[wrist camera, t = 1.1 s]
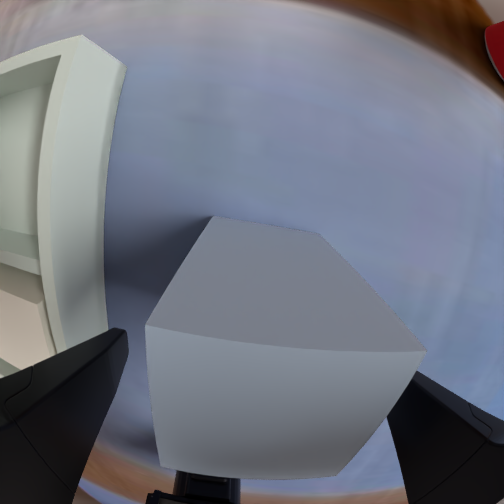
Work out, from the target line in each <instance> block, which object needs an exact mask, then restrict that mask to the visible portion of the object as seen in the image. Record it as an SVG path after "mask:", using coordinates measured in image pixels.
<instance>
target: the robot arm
mask: <svg viewBox="0 0 504 504" xmlns="http://www.w3.org/2000/svg"><path fill="white" fill-rule="evenodd" d="M128 353H129V349H128V338H127V332H126V331H125V330H123V329H119V328H112V329H110V330H108V331H106V332H103V333H101V334H99V335H97V336H95V337H93V338H91V339H88V340H86V341H84V342H82V343H80V344H78V345H75V346H73V347H71V348H69V349H67V350H65V351H62V352H60V353H58V354H56V355H54V356H51V357H49V358H47V359H45V360H43V361H40V362H38V363H36V364H34V365H33V366H32V365H31V366H29V367H27V368H25V369H23V370H20V371H18V372H15V373H13V374H11V375H8V376H5V377H2V378H0V504H72V502H73V499H74V496H75V494H74V493H75V492H76V489H77V487H78V484H79V481H80V478H81V476H82V473H83V470H84V468H85V465H86V462H87V460H88V457H89V455H90V452H91V450H92V447H93V445H94V442H95V440H96V438H97V435H98V433H99V430H100V428H101V426H102V423H103V421H104V419H105V417H106V414H107V412H108V410H109V408H110V405H111V403H112V401H113V399H114V396H115V394H116V391H117V388H118V385H119V382H120V379H121V376H122V373H123V370H124V367H125V364H126V361H127V358H128ZM386 417H387V420H388V424H389V427H390V430H391V434H392V437H393V441H394V445H395V448H396V452H397V456H398V460H399V464H400V468H401V472H402V476H403V480H404V485H405V489H406V494H407V499H408V503H409V504H504V421H503V420H501V419H499V418H497V417H495V416H493V415H491V414H489V413H487V412H485V411H483V410H481V409H480V408H478V407H476V406H474V405H473V404H471V403H469V402H467V401H466V400H464V399H463V398H461V397H459V396H458V395H456V394H454V393H453V392H451V391H449V390H448V389H446V388H444V387H443V386H441V385H440V384H438V383H436V382H435V381H433V380H431V379H430V378H428V377H426V376H425V375H423V374H422V373H420V372H418V371H417V370H416V372H415V374H414V375H413V377H412V379H411V380H410V382H409V384H408V385H407V387H406V388H405V390H404V392H403V393H402V395H401V396H400V398H399V399H398V401H397V402H396V404H395V405H394V406H393V408H392V409H391V411H390V412H389V414H388V415H387V416H386ZM146 504H240V478H228V477H218V476H210V475H202V474H196V473H190V472H184V471H179V470H177V471H176V477H175V483H174V488H173V494H168V493H163V492H161V491H159V490H155V491H154V493H148V495H147V499H146Z"/></svg>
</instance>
